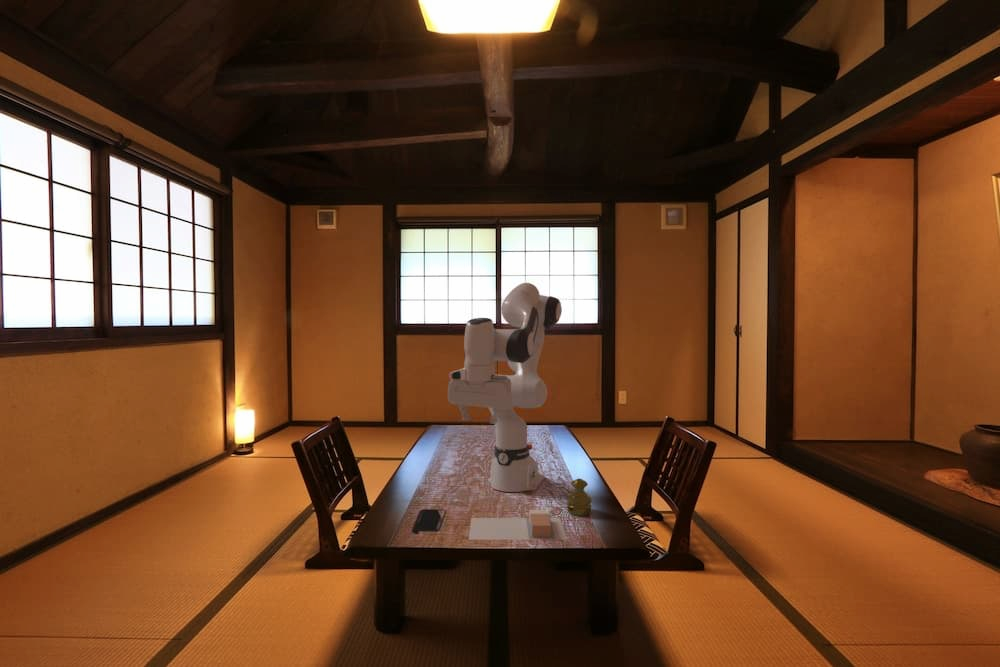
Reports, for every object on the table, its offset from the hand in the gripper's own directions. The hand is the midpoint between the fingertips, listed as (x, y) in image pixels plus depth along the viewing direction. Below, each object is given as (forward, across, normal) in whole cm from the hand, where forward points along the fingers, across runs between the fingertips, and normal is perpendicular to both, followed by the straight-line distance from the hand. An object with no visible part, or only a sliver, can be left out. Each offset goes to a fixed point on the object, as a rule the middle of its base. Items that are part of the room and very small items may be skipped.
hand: (479, 421), depth 142 cm
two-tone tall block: (+28, -18, -3) cm, 34 cm away
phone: (+30, +12, +8) cm, 33 cm away
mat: (+29, -12, 0) cm, 32 cm away
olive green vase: (+29, -23, -21) cm, 43 cm away
